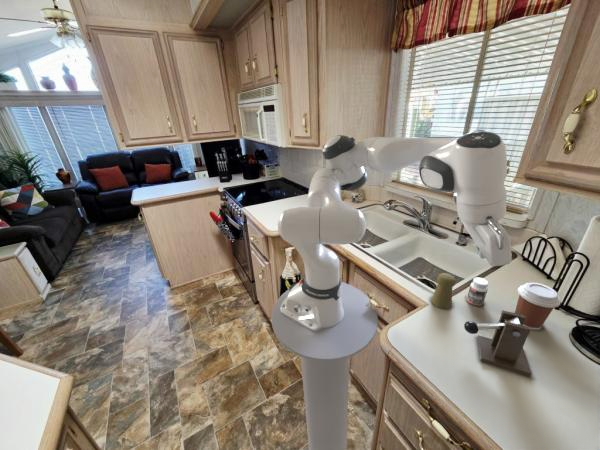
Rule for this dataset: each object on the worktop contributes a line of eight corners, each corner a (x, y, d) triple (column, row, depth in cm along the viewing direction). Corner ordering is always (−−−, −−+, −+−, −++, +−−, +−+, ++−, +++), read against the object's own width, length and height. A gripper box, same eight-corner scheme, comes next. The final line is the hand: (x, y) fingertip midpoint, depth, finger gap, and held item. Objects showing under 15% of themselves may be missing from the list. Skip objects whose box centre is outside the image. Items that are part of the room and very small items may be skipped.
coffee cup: (547, 338, 69) (563, 305, 64) (506, 322, 75) (518, 291, 70) (548, 319, 75) (563, 288, 70) (510, 306, 81) (521, 275, 76)
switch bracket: (480, 361, 64) (493, 325, 59) (476, 338, 71) (488, 303, 66) (530, 376, 60) (548, 339, 55) (521, 350, 66) (537, 314, 61)
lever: (467, 336, 66) (462, 327, 66) (466, 328, 69) (462, 318, 68) (524, 335, 59) (520, 324, 59) (521, 325, 62) (517, 315, 61)
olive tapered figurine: (454, 301, 84) (460, 275, 80) (447, 311, 80) (454, 284, 76) (435, 293, 88) (440, 268, 84) (428, 302, 84) (433, 276, 80)
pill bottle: (464, 301, 84) (470, 281, 81) (468, 294, 87) (474, 274, 84) (481, 308, 81) (487, 287, 77) (484, 300, 84) (491, 280, 80)
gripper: (523, 229, 45) (520, 283, 52) (479, 185, 62) (481, 230, 68) (483, 235, 48) (485, 286, 54) (450, 191, 65) (455, 234, 71)
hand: (482, 254), depth 61 cm, fingers closed
